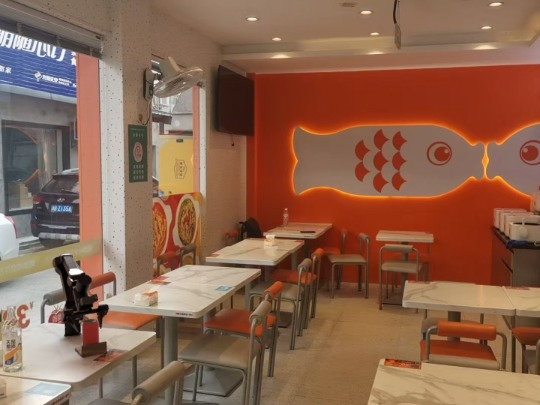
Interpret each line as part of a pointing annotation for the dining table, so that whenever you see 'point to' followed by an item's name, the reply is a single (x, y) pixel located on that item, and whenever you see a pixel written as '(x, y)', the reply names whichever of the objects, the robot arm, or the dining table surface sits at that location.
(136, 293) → the dining table surface
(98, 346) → the walnut backstop pad
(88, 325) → the beer can
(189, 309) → the dining table surface
